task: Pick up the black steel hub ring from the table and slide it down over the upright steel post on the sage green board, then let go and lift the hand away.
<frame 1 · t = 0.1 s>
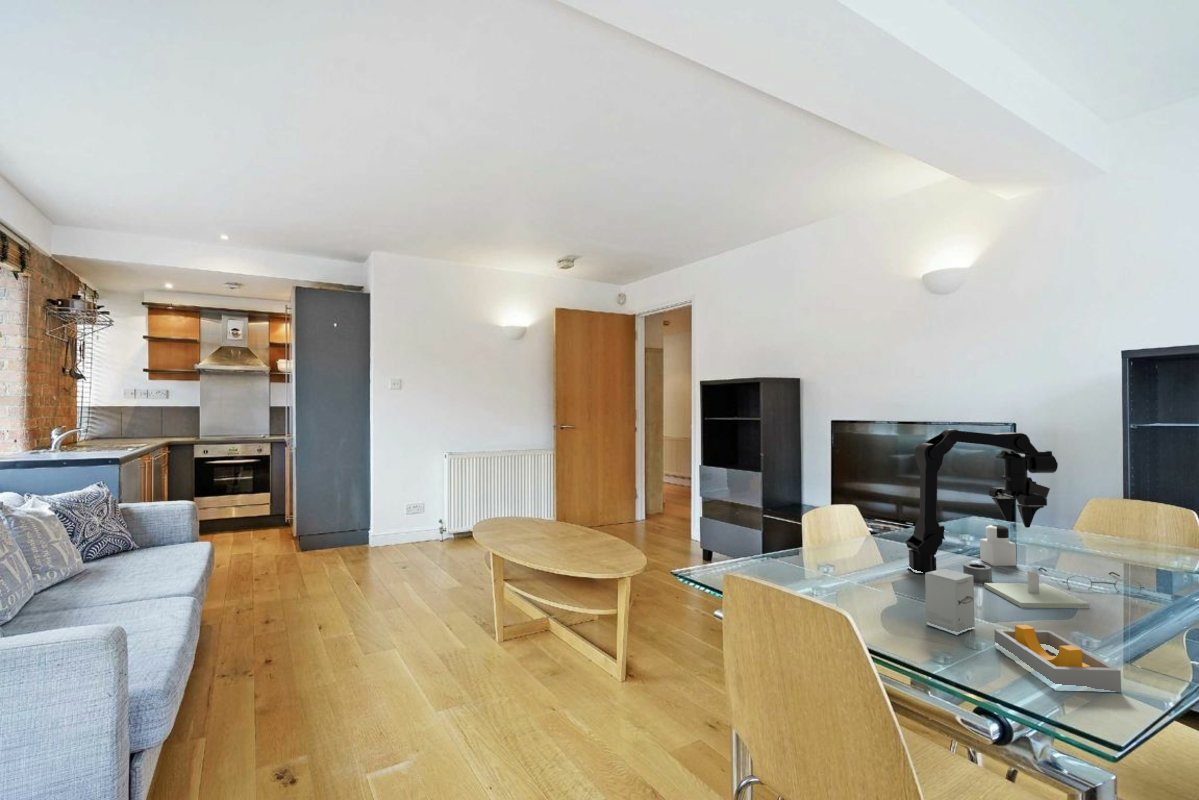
hand: (1017, 524, 170), 15 cm above the table, fingers open, 9 cm apart
parts frame: (1052, 668, 109), on the table
post board: (1033, 597, 148), on the table
pipe clamp: (1051, 670, 109), resting in parts frame
eyeglasses: (1087, 583, 161), on the table
supplement box: (950, 628, 130), on the table
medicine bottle: (998, 563, 180), on the table
hub ring: (977, 579, 164), on the table
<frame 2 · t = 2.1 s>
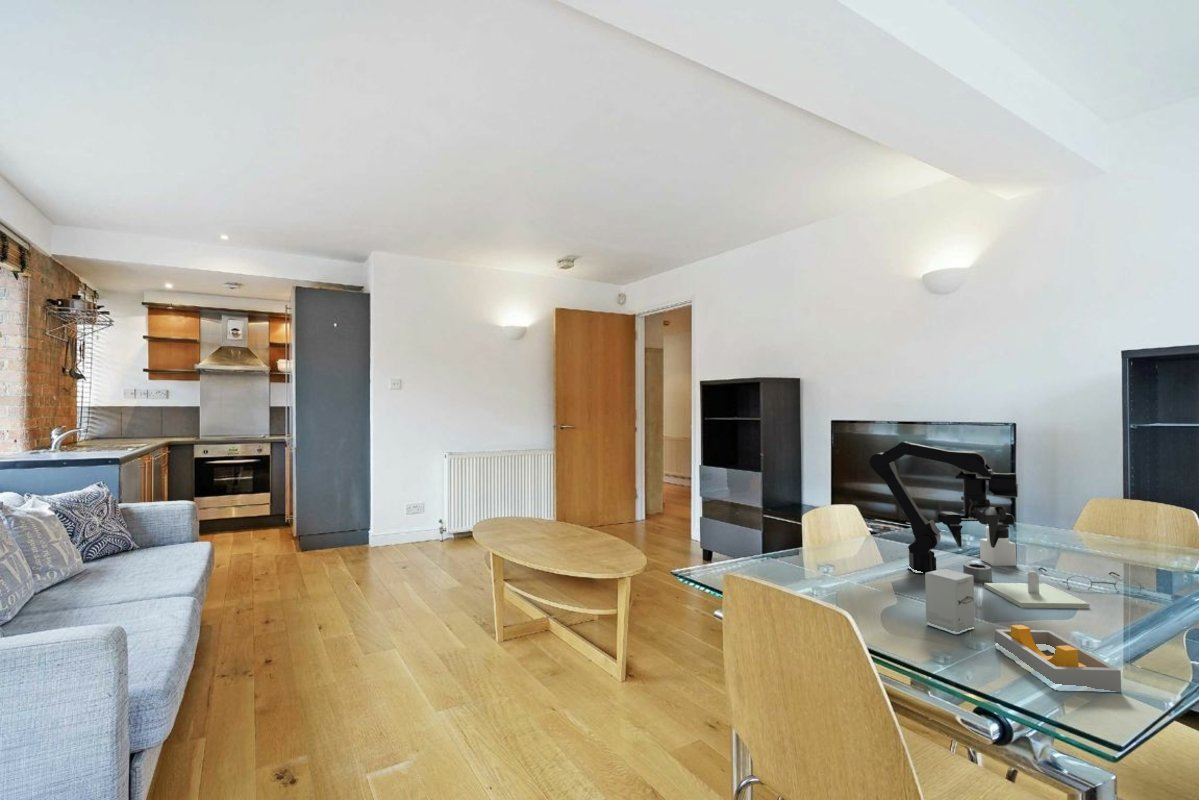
hand: (976, 547, 164), 10 cm above the table, fingers open, 9 cm apart
nothing on the table moved.
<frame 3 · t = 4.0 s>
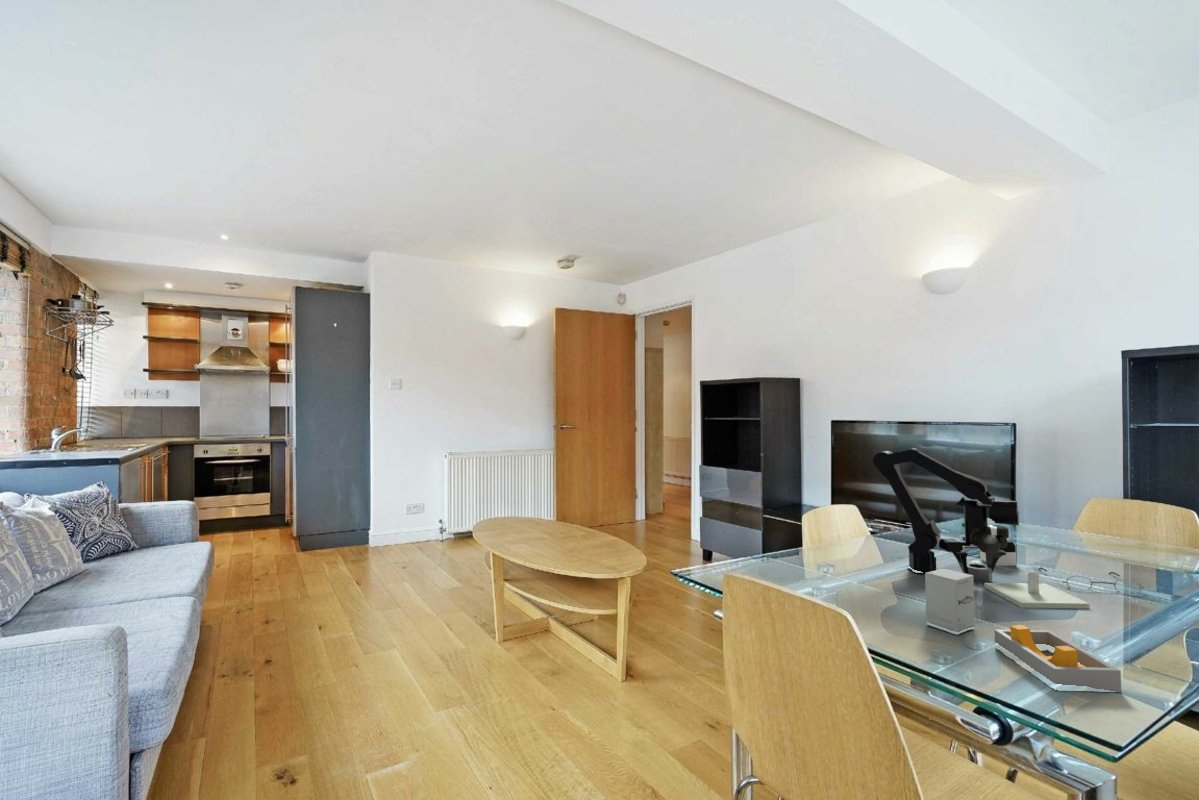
hand: (977, 574, 164), 2 cm above the table, fingers closed on hub ring, 6 cm apart
hub ring: (977, 579, 164), on the table, touching gripper
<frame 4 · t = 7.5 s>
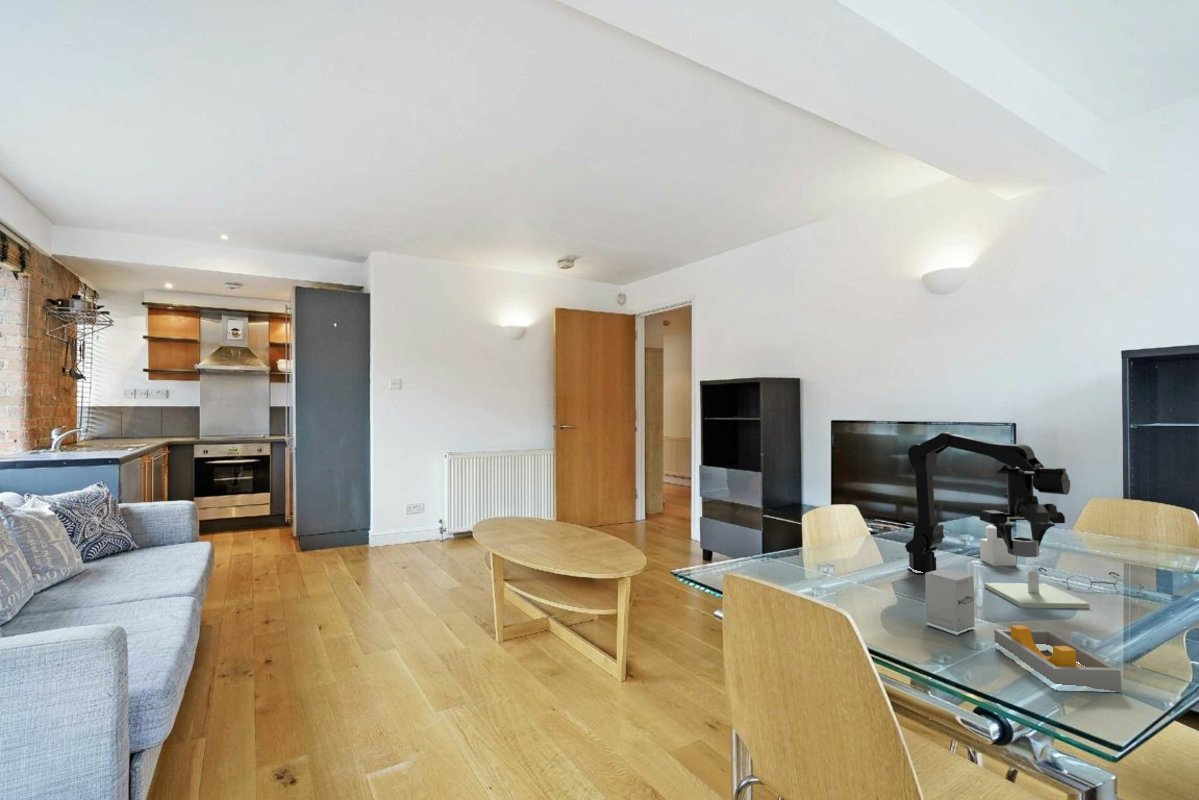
hand: (1023, 548, 151), 12 cm above the table, fingers closed on hub ring, 6 cm apart
hub ring: (1023, 554, 151), point 11 cm above the table, touching gripper
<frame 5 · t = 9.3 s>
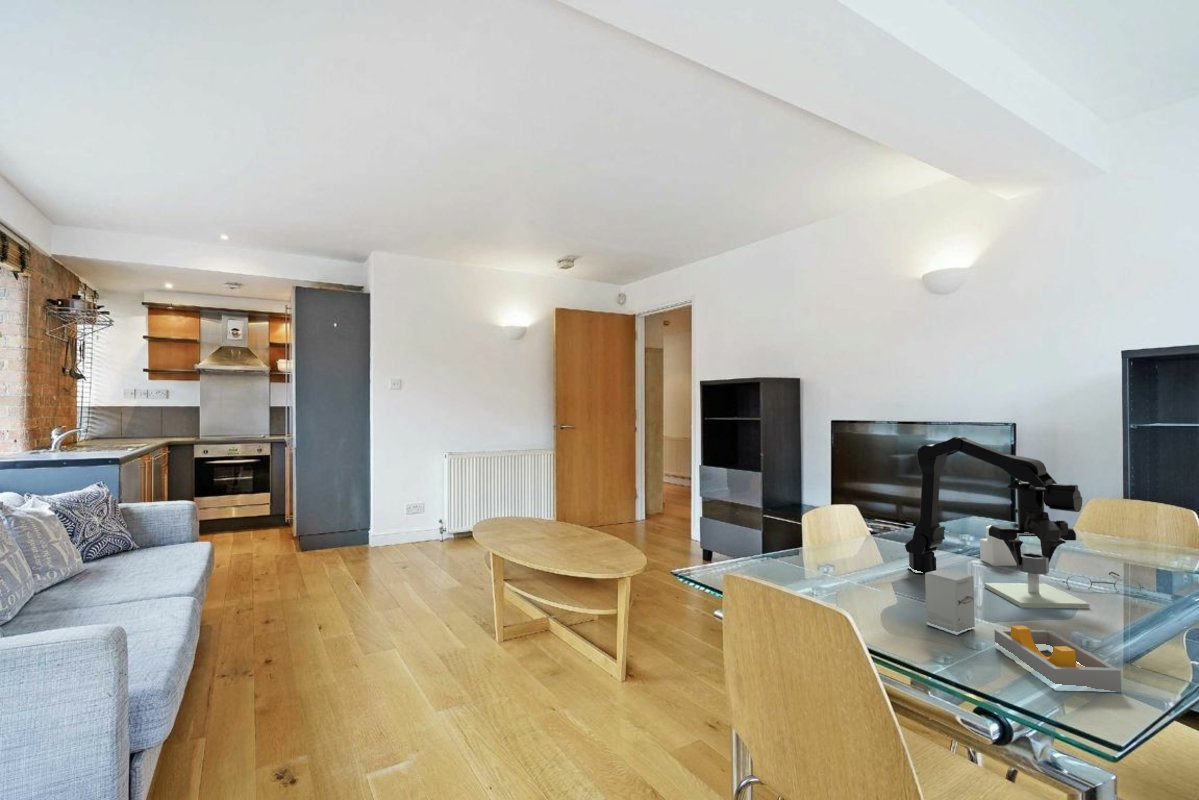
hand: (1032, 565, 149), 9 cm above the table, fingers closed on hub ring, 6 cm apart
hub ring: (1032, 570, 149), point 7 cm above the table, touching gripper
when the fingers open (4 cm above the table, at t = 11.2 s): hub ring drops 1 cm, resting on post board.
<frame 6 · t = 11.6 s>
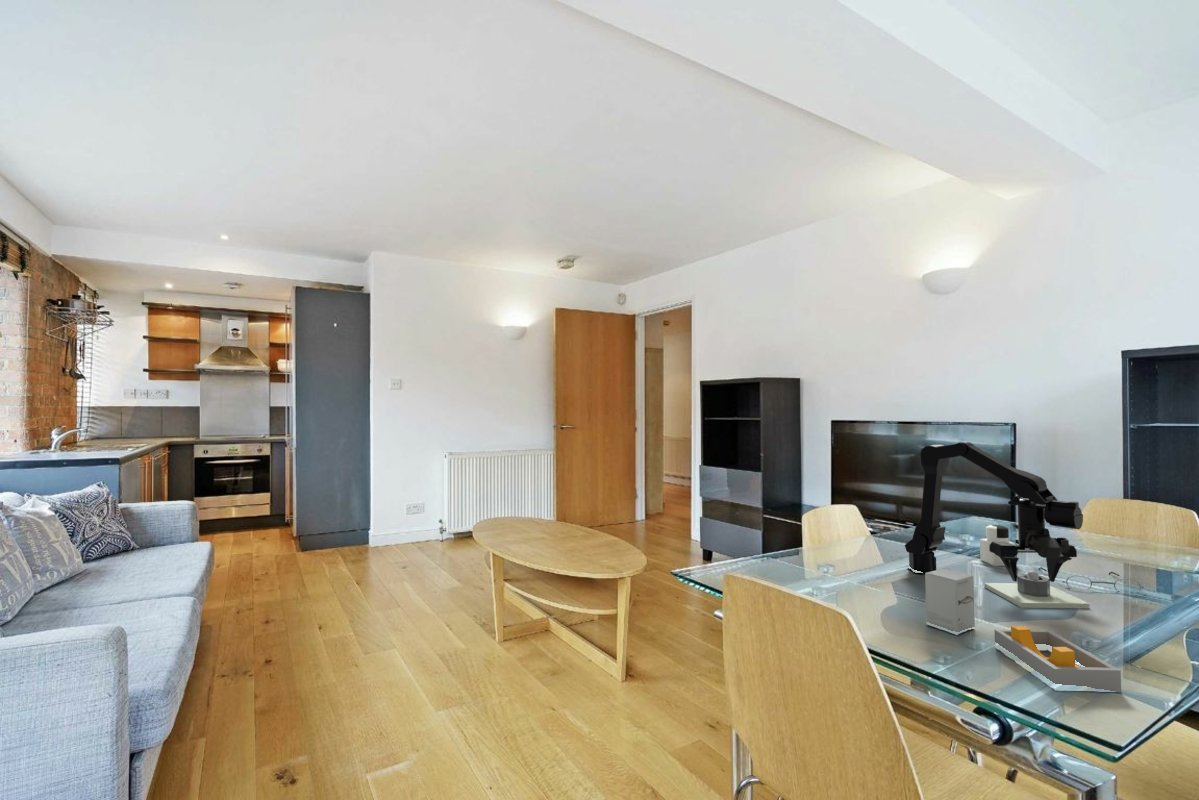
hand: (1033, 581, 148), 4 cm above the table, fingers open, 9 cm apart
hub ring: (1033, 592, 148), point 1 cm above the table, touching post board
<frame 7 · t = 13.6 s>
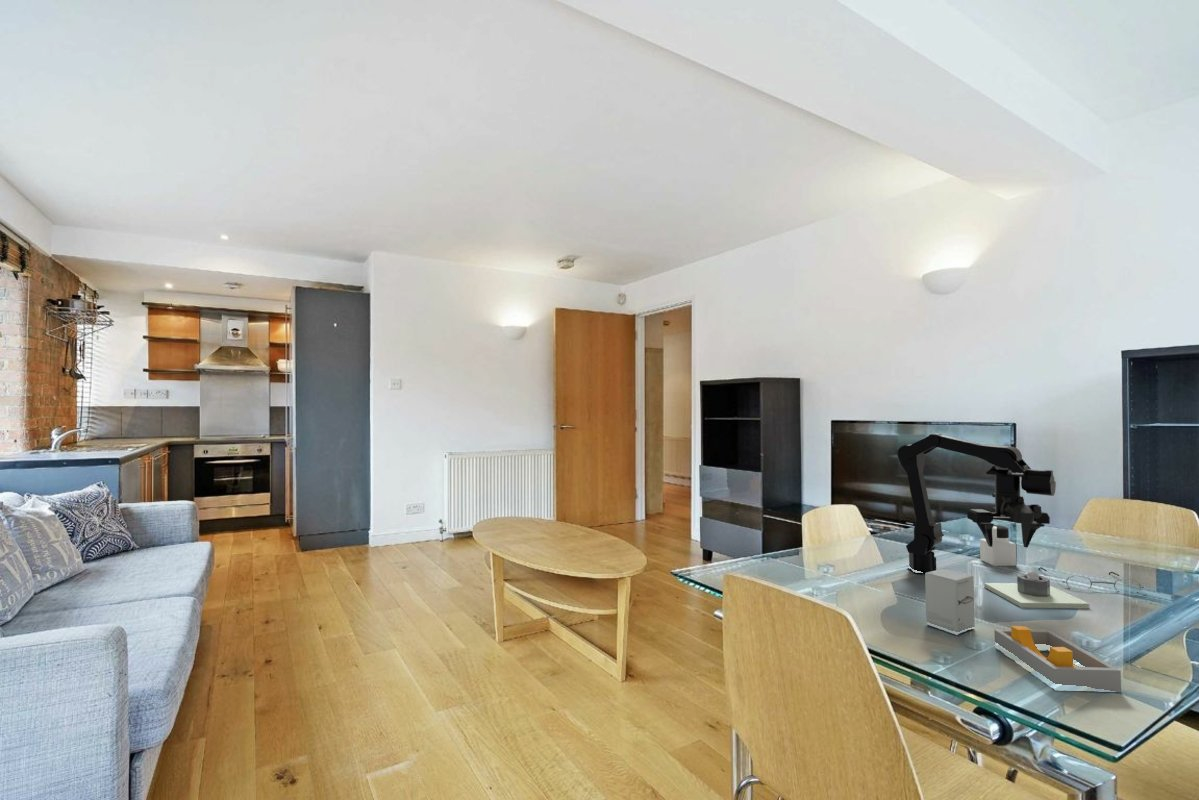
hand: (1008, 546, 156), 12 cm above the table, fingers open, 9 cm apart
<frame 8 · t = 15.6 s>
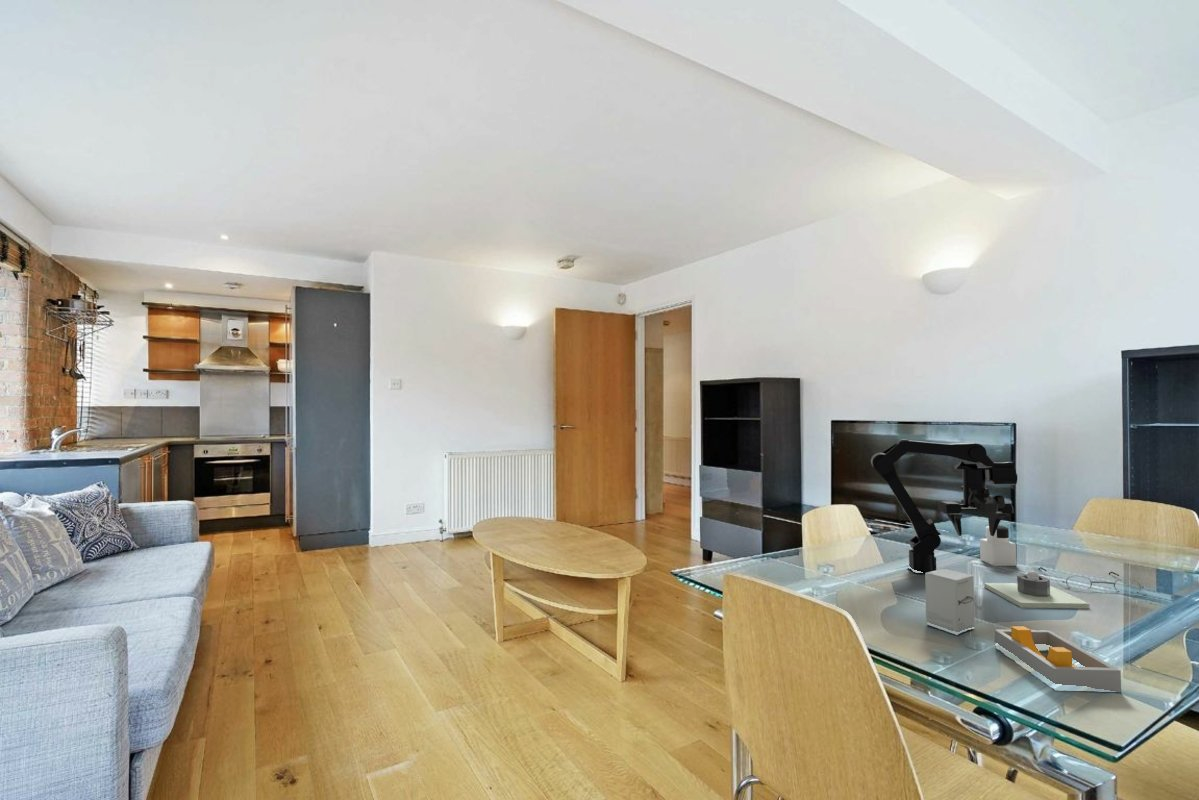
hand: (975, 535, 168), 12 cm above the table, fingers open, 9 cm apart
at the end: hub ring 0.0 cm off-centre on the post board, point 1.2 cm above the post board's base; hub ring tilted 0°; the gripper is holding nothing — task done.
